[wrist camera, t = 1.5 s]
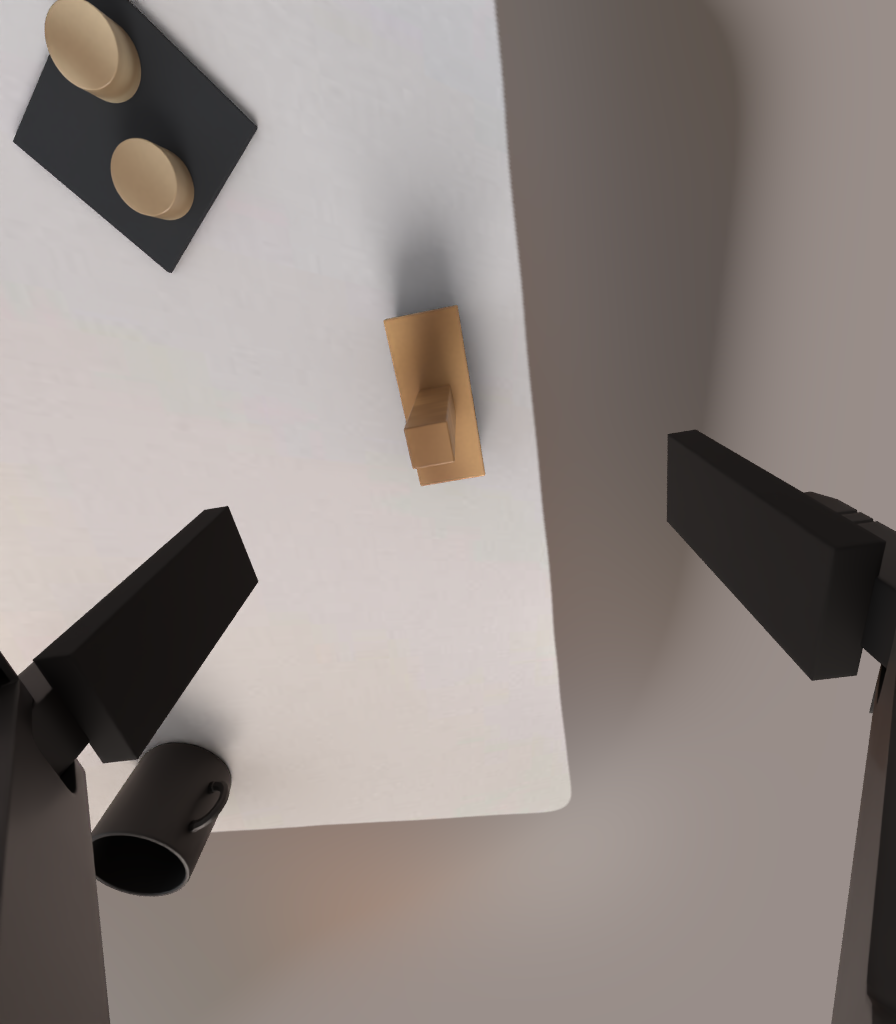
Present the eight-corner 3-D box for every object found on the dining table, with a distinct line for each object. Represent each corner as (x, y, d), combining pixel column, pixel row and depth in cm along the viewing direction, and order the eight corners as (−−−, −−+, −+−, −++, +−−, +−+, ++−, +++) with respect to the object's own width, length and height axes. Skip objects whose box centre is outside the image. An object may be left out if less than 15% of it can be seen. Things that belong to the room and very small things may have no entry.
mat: (93, -34, 25) (88, -39, 24) (258, 128, 28) (255, 126, 27) (18, 143, 28) (12, 141, 28) (171, 272, 31) (168, 272, 30)
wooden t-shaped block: (457, 303, 31) (456, 312, 20) (482, 457, 36) (494, 540, 24) (391, 316, 32) (351, 333, 20) (424, 468, 36) (407, 553, 24)
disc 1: (90, -3, 25) (62, -25, 23) (153, 58, 26) (130, 41, 24) (62, 64, 26) (32, 48, 24) (122, 120, 27) (98, 108, 25)
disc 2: (150, 130, 27) (128, 120, 26) (206, 182, 28) (188, 174, 27) (121, 187, 29) (98, 180, 27) (175, 234, 30) (157, 230, 28)
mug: (270, 784, 51) (235, 879, 43) (177, 810, 53) (126, 905, 45) (220, 724, 48) (170, 815, 39) (122, 755, 50) (55, 847, 42)
